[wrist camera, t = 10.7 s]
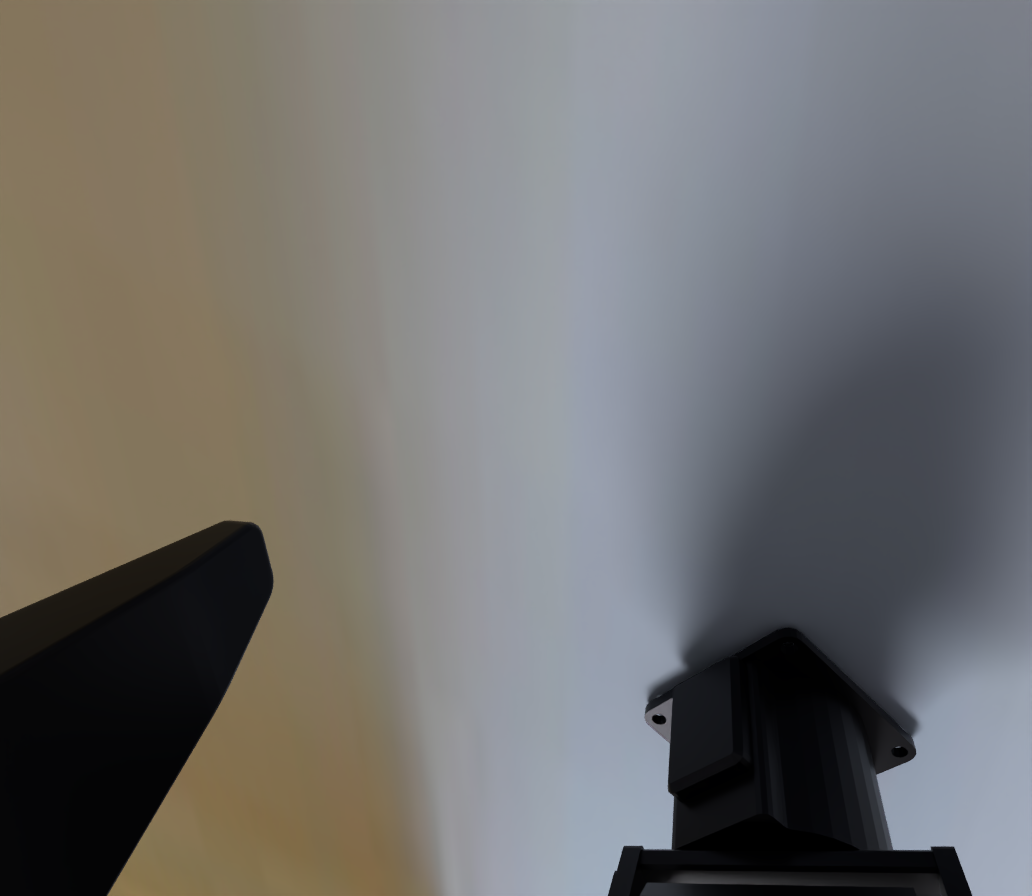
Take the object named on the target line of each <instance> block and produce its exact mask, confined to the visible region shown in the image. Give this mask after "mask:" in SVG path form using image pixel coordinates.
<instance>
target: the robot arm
mask: <svg viewBox="0 0 1032 896" xmlns="http://www.w3.org/2000/svg"><path fill="white" fill-rule="evenodd" d="M272 589H273V572H272V568H271V564H270V561H269V557H268V553H267V549H266V545H265V541H264V537H263V534H262V531H261V529H260V528H259V526H258V525H256V524H254V523H252V522H241V521H223V522H220V523H218V524H215V525H213V526H211V527H209V528H206V529H204V530H202V531H199V532H197V533H195V534H192V535H190V536H188V537H185V538H183V539H181V540H179V541H176V542H174V543H172V544H169V545H167V546H165V547H162V548H160V549H158V550H156V551H153V552H151V553H149V554H146V555H144V556H142V557H139V558H137V559H135V560H132V561H130V562H128V563H126V564H123V565H121V566H119V567H116V568H114V569H112V570H109V571H107V572H105V573H103V574H100V575H98V576H96V577H93V578H91V579H89V580H86V581H84V582H82V583H79V584H77V585H75V586H73V587H70V588H68V589H66V590H63V591H61V592H59V593H56V594H54V595H52V596H50V597H47V598H45V599H43V600H40V601H38V602H36V603H33V604H31V605H29V606H27V607H24V608H22V609H20V610H17V611H15V612H13V613H10V614H8V615H6V616H3V617H1V618H0V896H107V895H108V893H109V892H110V890H111V888H112V887H113V885H114V883H115V882H116V880H117V878H118V876H119V875H120V873H121V871H122V870H123V868H124V866H125V865H126V863H127V861H128V859H129V858H130V856H131V854H132V853H133V851H134V849H135V848H136V846H137V844H138V843H139V841H140V839H141V837H142V836H143V834H144V832H145V831H146V829H147V827H148V826H149V824H150V822H151V821H152V819H153V817H154V815H155V814H156V812H157V810H158V809H159V807H160V805H161V804H162V802H163V800H164V798H165V797H166V795H167V793H168V792H169V790H170V788H171V787H172V785H173V783H174V782H175V780H176V778H177V776H178V775H179V773H180V771H181V770H182V768H183V766H184V765H185V763H186V761H187V760H188V758H189V756H190V754H191V753H192V751H193V749H194V748H195V746H196V744H197V743H198V741H199V739H200V737H201V736H202V734H203V732H204V731H205V729H206V727H207V726H208V724H209V722H210V721H211V719H212V717H213V715H214V714H215V712H216V710H217V708H218V706H219V705H220V703H221V701H222V699H223V697H224V695H225V693H226V691H227V689H228V687H229V685H230V683H231V681H232V679H233V677H234V674H235V672H236V670H237V668H238V666H239V664H240V661H241V659H242V657H243V655H244V653H245V651H246V648H247V646H248V644H249V642H250V640H251V638H252V635H253V633H254V631H255V629H256V627H257V625H258V622H259V620H260V618H261V616H262V614H263V611H264V609H265V607H266V605H267V603H268V601H269V598H270V596H271V593H272ZM787 642H789V643H794V645H791V646H785V645H783V644H784V643H787ZM656 714H661V715H663V716H658V715H656ZM645 721H646V723H647V724H648V725H649V726H650V727H651V728H653V729H654V730H655V731H656V732H657V733H658V734H659V735H661V736H662V737H663V738H664V739H665V740H666V741H668V742H669V743H670V755H669V774H668V792H669V793H670V794H672V795H673V796H674V811H673V833H672V850H666V849H644V848H643V846H624V847H623V851H622V854H621V858H620V861H619V865H618V869H617V871H615V872H614V875H613V879H612V883H611V886H610V890H609V894H608V896H972V894H971V891H970V888H969V886H968V883H967V880H966V877H965V875H964V872H963V869H962V867H961V864H960V861H959V859H958V856H957V853H956V851H955V848H954V847H931V850H893V847H892V843H891V838H890V834H889V830H888V825H887V821H886V817H885V812H884V808H883V803H882V799H881V795H880V790H879V786H878V781H877V777H876V775H877V774H879V773H882V772H884V771H886V770H889V769H891V768H894V767H896V766H898V765H901V764H903V763H906V762H908V761H910V760H912V759H913V758H914V757H915V755H916V748H915V745H914V742H913V739H912V738H911V736H910V735H909V734H908V733H906V732H905V731H904V730H903V729H902V728H901V727H900V726H899V725H898V724H897V723H896V722H895V721H894V720H893V719H892V718H891V717H890V716H888V715H887V714H886V713H885V712H884V711H883V710H882V709H881V708H880V707H879V706H878V705H877V704H876V703H875V702H874V701H873V700H872V699H871V698H869V697H868V696H867V695H866V694H865V693H864V692H863V691H862V690H861V689H860V688H859V687H858V686H857V685H856V684H855V683H854V682H853V681H852V680H850V679H849V678H848V677H847V676H846V675H845V674H844V673H843V672H842V671H841V670H840V669H839V668H838V667H837V666H836V665H835V664H834V663H832V662H831V661H830V660H829V659H828V658H827V657H826V656H825V655H824V654H823V653H822V652H821V651H820V650H819V649H818V648H817V647H816V646H815V645H813V644H812V643H811V642H810V641H809V640H808V639H807V638H806V637H805V636H804V635H803V634H802V633H801V632H799V631H798V630H796V629H792V628H782V629H780V630H777V631H775V632H774V633H772V634H770V635H768V636H766V637H765V638H763V639H761V640H759V641H758V642H756V643H754V644H752V645H750V646H749V647H747V648H745V649H743V650H742V651H740V652H738V653H736V654H734V655H733V656H731V657H727V658H725V659H724V660H722V661H720V662H718V663H716V664H715V665H713V666H711V667H709V668H708V669H706V670H704V671H702V672H701V673H699V674H697V675H695V676H693V677H692V678H690V679H688V680H686V681H685V682H683V683H681V684H679V685H677V686H676V687H674V689H672V690H671V691H669V692H667V693H665V694H663V695H662V696H660V697H658V698H656V699H655V700H653V701H651V702H650V703H648V704H647V706H646V709H645ZM898 746H899V748H895V747H898Z"/></svg>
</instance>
